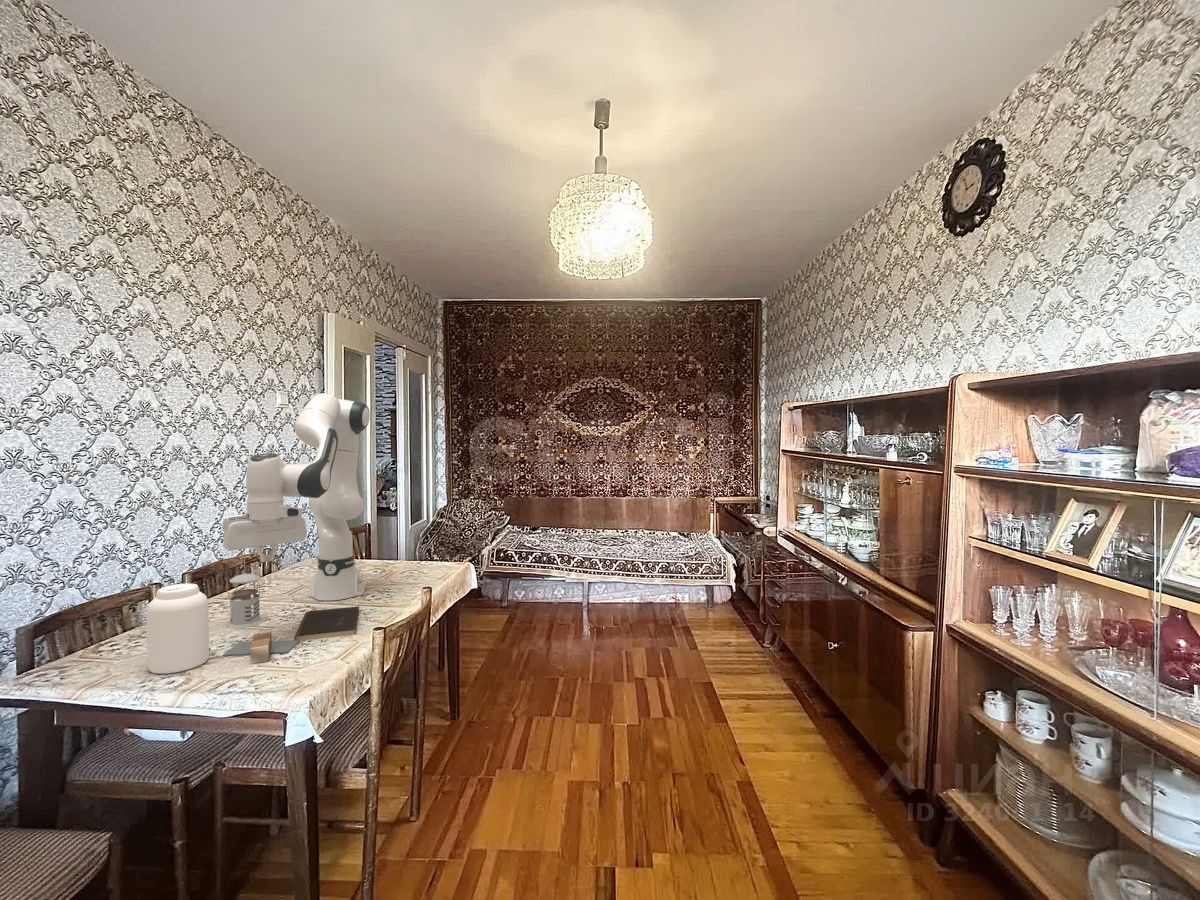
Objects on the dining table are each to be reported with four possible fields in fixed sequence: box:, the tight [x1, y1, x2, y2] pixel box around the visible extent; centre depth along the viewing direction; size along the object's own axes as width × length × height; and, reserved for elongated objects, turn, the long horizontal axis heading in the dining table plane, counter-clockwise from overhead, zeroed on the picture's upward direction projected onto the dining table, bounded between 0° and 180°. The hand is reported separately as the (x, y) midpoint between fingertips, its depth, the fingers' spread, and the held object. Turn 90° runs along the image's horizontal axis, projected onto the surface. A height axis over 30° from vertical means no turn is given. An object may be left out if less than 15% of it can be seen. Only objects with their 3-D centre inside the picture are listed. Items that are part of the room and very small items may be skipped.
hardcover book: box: [293, 605, 360, 641], centre depth 172 cm, size 16×23×2 cm
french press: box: [226, 549, 264, 629], centre depth 175 cm, size 10×12×25 cm
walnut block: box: [249, 631, 273, 665], centre depth 148 cm, size 4×4×10 cm
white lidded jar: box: [146, 582, 210, 675], centre depth 142 cm, size 12×12×20 cm
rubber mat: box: [222, 639, 302, 657], centre depth 153 cm, size 9×16×1 cm, turn 98°
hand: (267, 561), depth 157 cm, fingers closed
